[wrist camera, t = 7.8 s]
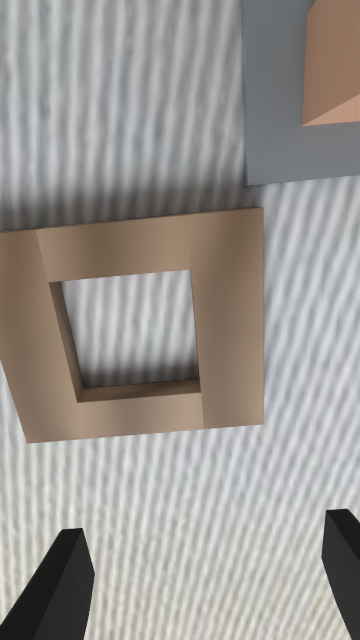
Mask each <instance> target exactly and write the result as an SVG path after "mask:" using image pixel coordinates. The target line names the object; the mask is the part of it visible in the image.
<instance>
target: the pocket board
mask: <svg viewBox="0 0 360 640" xmlns="http://www.w3.org/2000/svg"><path fill="white" fill-rule="evenodd" d="M187 269H190V271H191V283H192V295H193V308H194V320H195V332H196V345H197V357H198V369H199V379H189V380H178V381H166V382H154V383H143V384H131V385H119V386H107V387H96V388H84V386H83V381H82V377H81V372H80V368H79V364H78V359H77V355H76V350H75V346H74V342H73V337H72V333H71V328H70V324H69V319H68V315H67V311H66V306H65V302H64V297H63V293H62V289H61V284H60V281H68V280H79V279H90V278H100V277H111V276H122V275H133V274H144V273H154V272H165V271H176V270H187ZM0 360H1V363H2V366H3V369H4V372H5V375H6V379H7V382H8V385H9V388H10V391H11V394H12V397H13V400H14V404H15V407H16V410H17V413H18V416H19V419H20V422H21V425H22V429H23V432H24V435H25V438H26V441H27V444H28V443H40V442H52V441H64V440H76V439H89V438H101V437H113V436H125V435H138V434H150V433H162V432H174V431H186V430H199V429H211V428H223V427H235V426H248V425H260V424H264V237H263V208H262V207H248V208H237V209H227V210H217V211H206V212H196V213H186V214H175V215H165V216H155V217H144V218H134V219H124V220H113V221H103V222H93V223H82V224H72V225H62V226H51V227H41V228H31V229H20V230H10V231H0Z"/></svg>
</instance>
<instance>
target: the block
mask: <svg viewBox="0 0 360 640" xmlns="http://www.w3.org/2000/svg"><path fill="white" fill-rule="evenodd" d="M355 121H360V0H316V1H315V2H314V4H313V5H312V7H311V8H310V9H309V11H308V12H307V30H306V52H305V73H304V95H303V117H302V126H309V125H321V124H332V123H344V122H355Z"/></svg>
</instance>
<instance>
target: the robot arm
mask: <svg viewBox="0 0 360 640" xmlns="http://www.w3.org/2000/svg"><path fill="white" fill-rule="evenodd" d="M321 558H322V561H323V564H324V568H325V571H326V574H327V577H328V580H329V583H330V586H331V589H332V592H333V595H334V598H335V601H336V603H337V606H338V608H339V611H340V613H341V615H342V618H343V620H344V622H345V625H346V627H347V629H348V632H349V634H350V637H351V639H352V640H360V522H359V521H358V520H357V519H356V518H355V516H354V515H353V514H352V513H351V512H350V511H349V510H348V509H336V510H326V515H325V526H324V536H323V546H322V557H321ZM94 576H95V572H94V569H93V565H92V561H91V558H90V554H89V550H88V546H87V543H86V539H85V535H84V531H83V528H76V529H62V530H61V531H60V532H59V534H58V536H57V537H56V539H55V541H54V542H53V544H52V546H51V547H50V549H49V551H48V552H47V554H46V556H45V557H44V559H43V561H42V562H41V564H40V565H39V567H38V569H37V570H36V572H35V573H34V575H33V576H32V578H31V580H30V581H29V583H28V584H27V586H26V588H25V589H24V591H23V592H22V594H21V595H20V597H19V598H18V600H17V601H16V603H15V604H14V606H13V607H12V609H11V610H10V612H9V613H8V615H7V616H6V618H5V619H4V621H3V622H2V624H1V625H0V640H83V639H84V635H85V631H86V626H87V622H88V617H89V611H90V604H91V598H92V591H93V583H94Z"/></svg>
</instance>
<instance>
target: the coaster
mask: <svg viewBox="0 0 360 640" xmlns="http://www.w3.org/2000/svg"><path fill="white" fill-rule="evenodd" d="M315 1H316V0H242V34H243V85H244V136H245V186H251V185H261V184H271V183H282V182H292V181H302V180H312V179H322V178H332V177H343V176H353V175H360V121H355V122H344V123H332V124H321V125H309V126H302V117H303V95H304V73H305V52H306V30H307V12H308V11H309V9H310V8H311V7H312V5H313V4H314V2H315Z"/></svg>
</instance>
